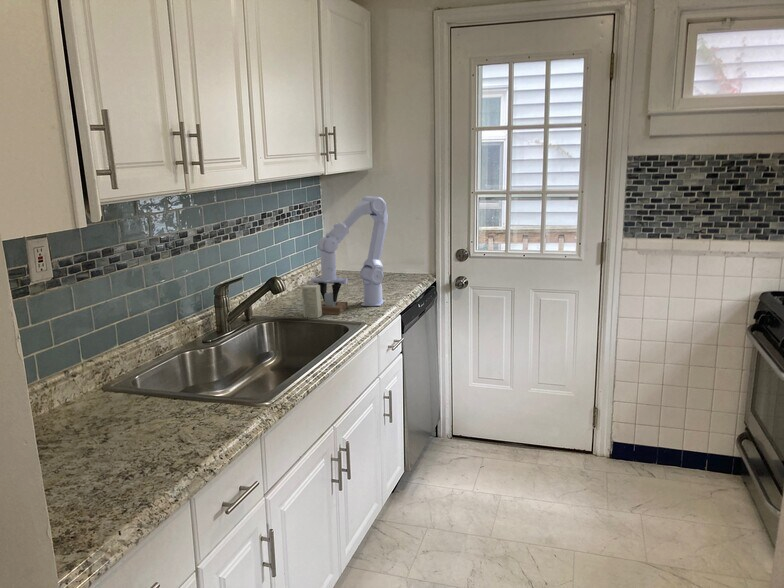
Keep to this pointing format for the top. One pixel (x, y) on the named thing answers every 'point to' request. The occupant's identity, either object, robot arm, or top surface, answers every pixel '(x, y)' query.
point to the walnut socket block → (334, 308)
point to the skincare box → (311, 301)
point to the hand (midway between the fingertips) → (330, 301)
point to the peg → (329, 299)
